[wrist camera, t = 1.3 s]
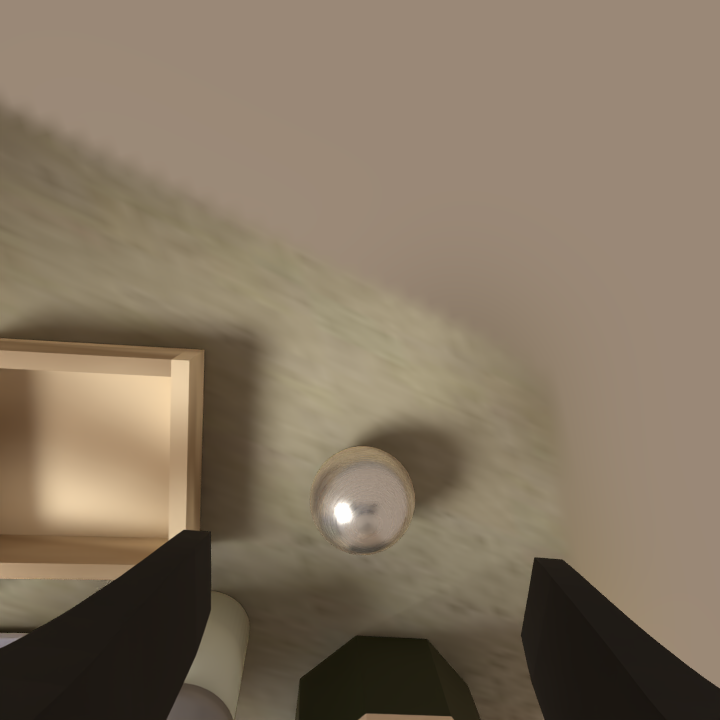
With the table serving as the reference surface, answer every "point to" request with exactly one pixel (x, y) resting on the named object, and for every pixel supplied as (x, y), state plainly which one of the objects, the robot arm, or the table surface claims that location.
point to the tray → (96, 455)
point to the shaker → (216, 665)
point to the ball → (362, 500)
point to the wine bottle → (384, 684)
